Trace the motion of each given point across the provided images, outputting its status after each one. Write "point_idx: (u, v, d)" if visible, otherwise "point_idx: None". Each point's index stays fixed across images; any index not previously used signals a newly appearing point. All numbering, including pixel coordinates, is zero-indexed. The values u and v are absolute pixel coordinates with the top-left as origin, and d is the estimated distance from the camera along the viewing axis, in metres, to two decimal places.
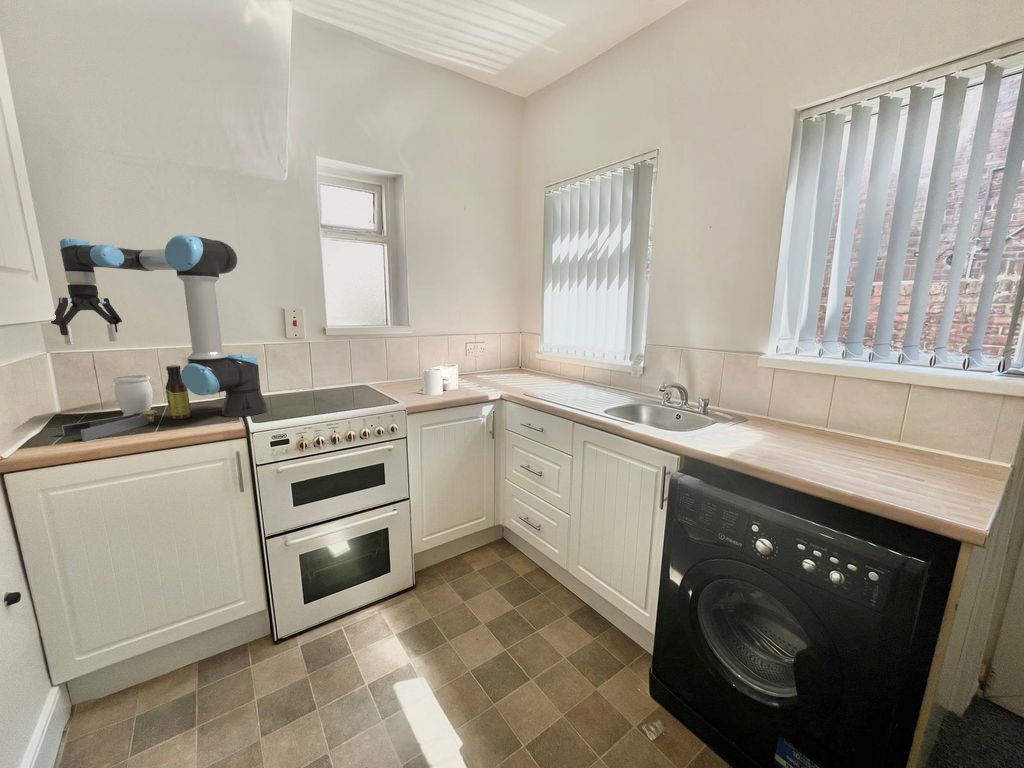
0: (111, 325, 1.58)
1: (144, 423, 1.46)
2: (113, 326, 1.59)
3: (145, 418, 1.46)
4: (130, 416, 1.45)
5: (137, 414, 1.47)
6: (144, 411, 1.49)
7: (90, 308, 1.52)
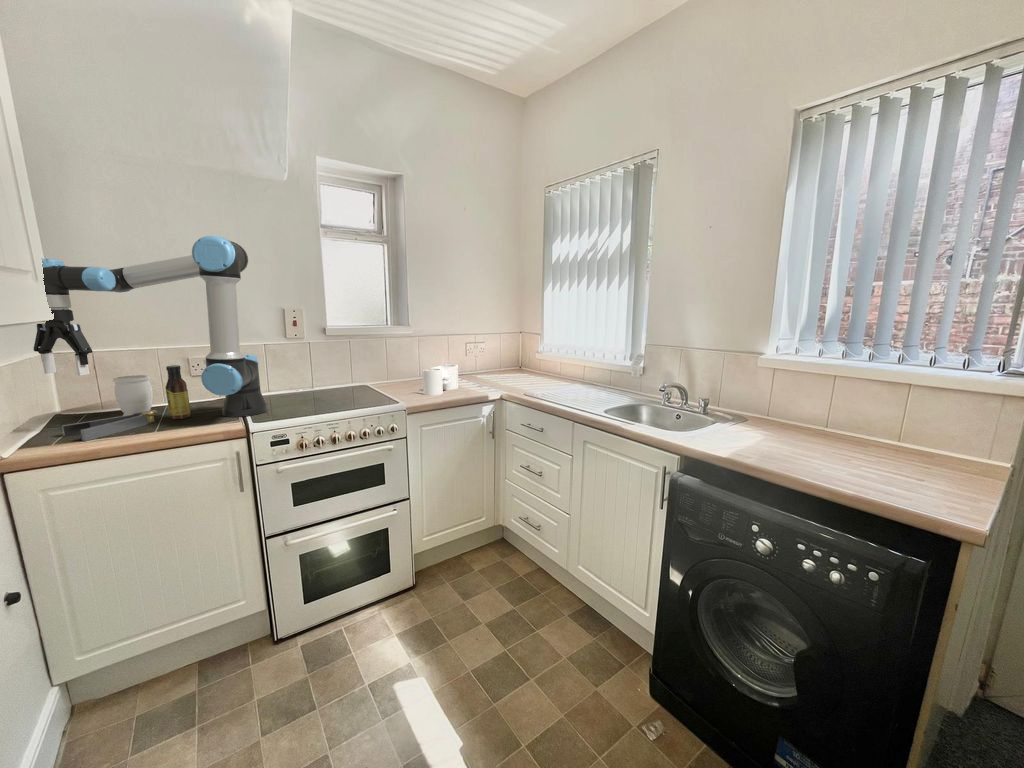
0: None
1: (144, 423, 1.46)
2: (75, 357, 1.33)
3: (145, 418, 1.46)
4: (130, 416, 1.45)
5: (137, 414, 1.47)
6: (144, 411, 1.49)
7: (57, 336, 1.33)
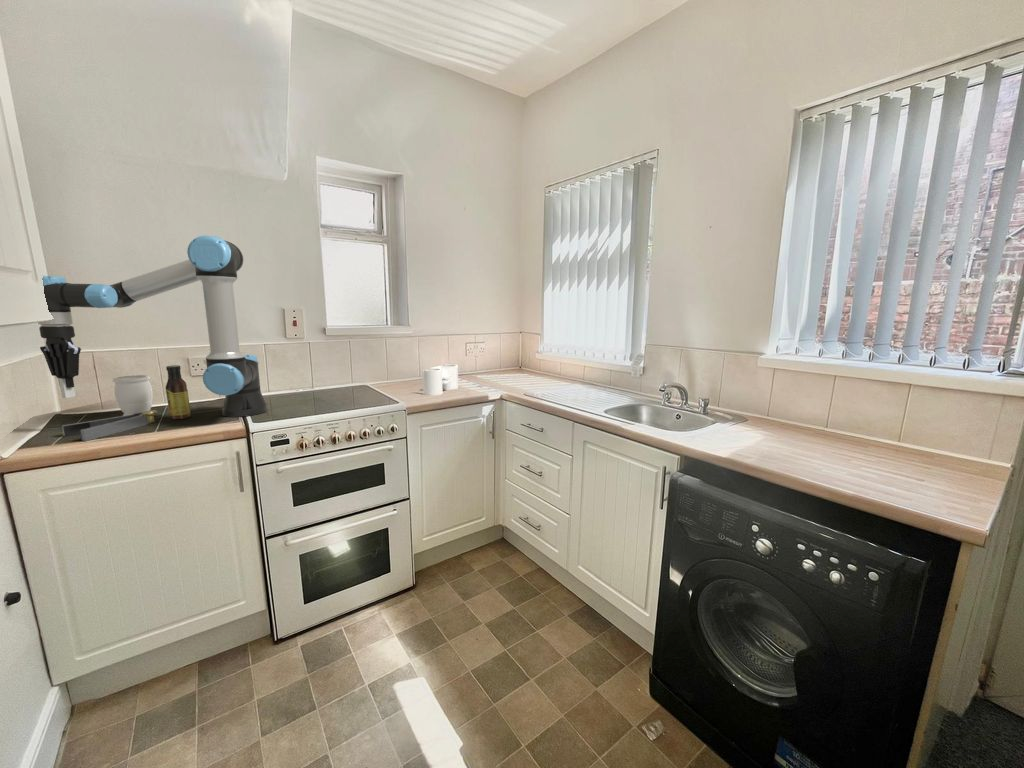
0: None
1: (144, 423, 1.46)
2: (61, 380, 1.35)
3: (145, 418, 1.46)
4: (130, 416, 1.45)
5: (137, 414, 1.47)
6: (144, 411, 1.49)
7: None
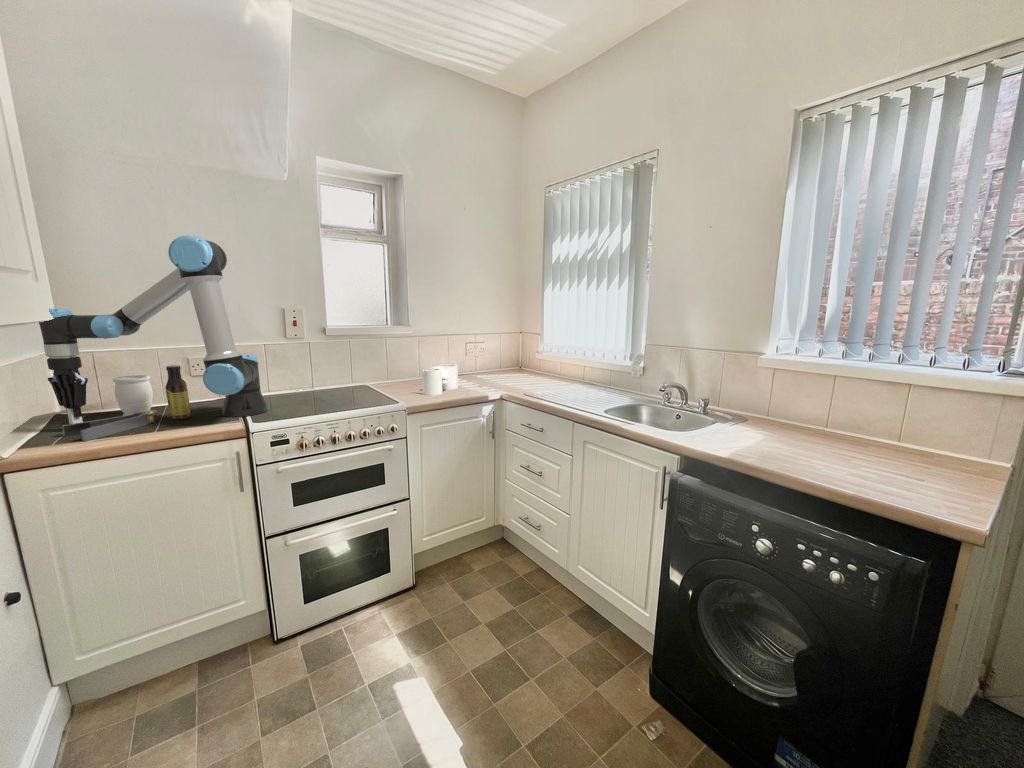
0: None
1: (144, 423, 1.46)
2: (69, 411, 1.36)
3: (145, 418, 1.46)
4: (130, 416, 1.45)
5: (137, 414, 1.47)
6: (144, 411, 1.49)
7: None
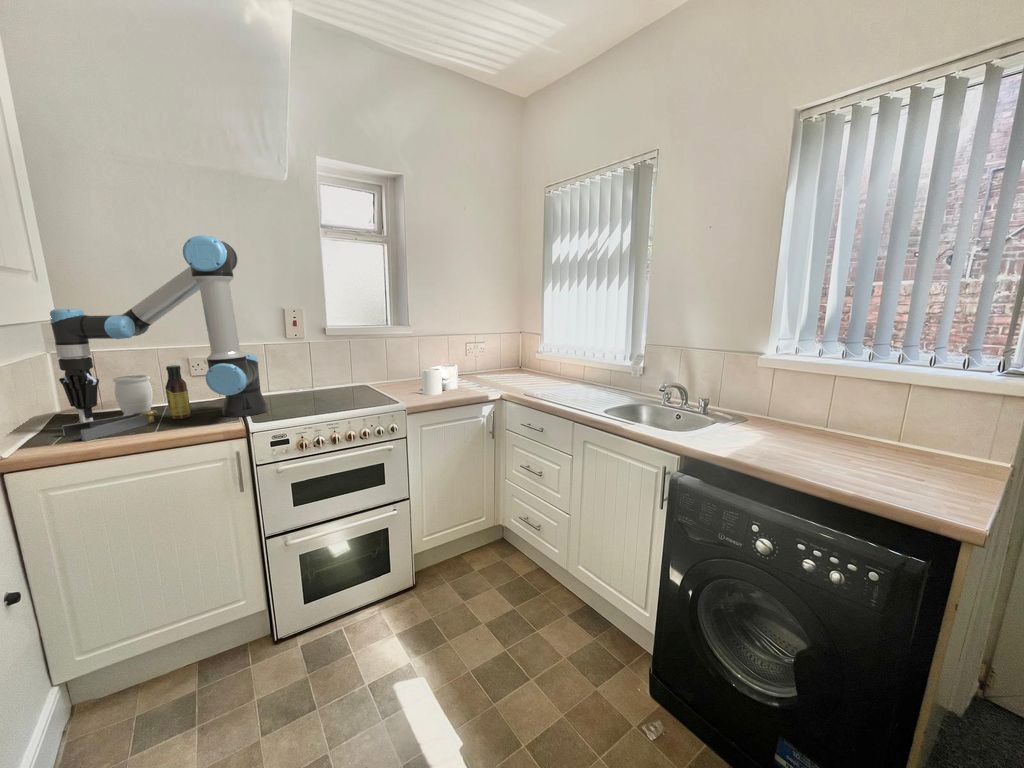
0: None
1: (144, 423, 1.46)
2: (80, 411, 1.36)
3: (145, 418, 1.46)
4: (130, 416, 1.45)
5: (137, 414, 1.47)
6: (144, 411, 1.49)
7: None
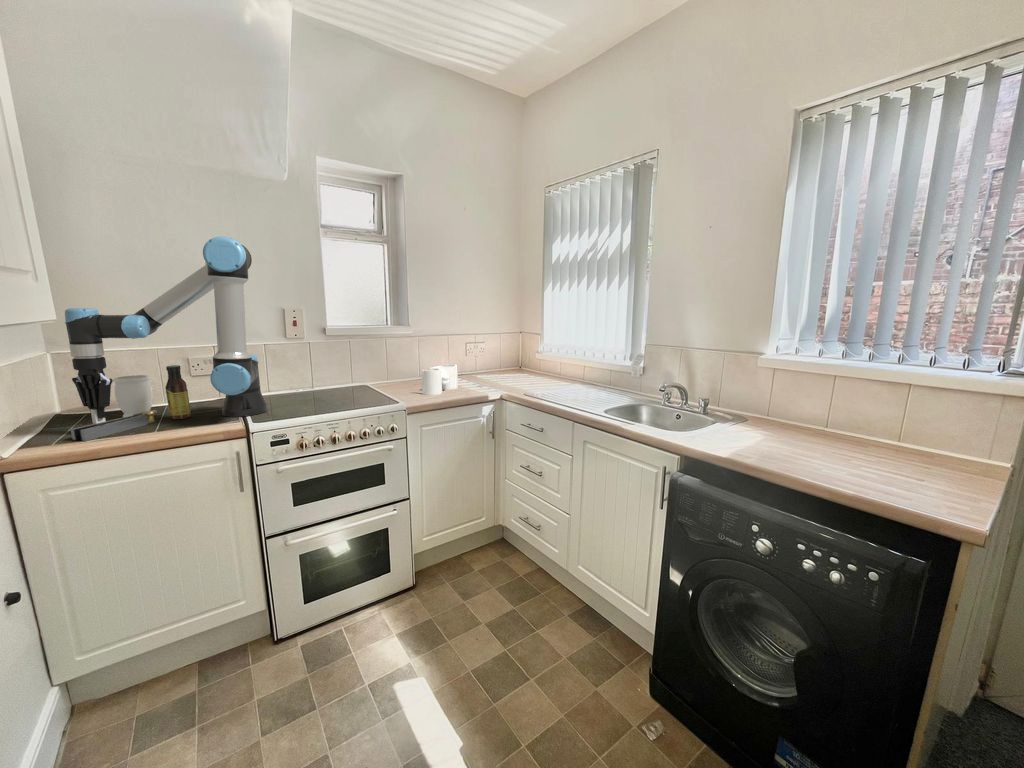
0: None
1: (144, 423, 1.46)
2: (93, 411, 1.35)
3: (145, 418, 1.46)
4: None
5: (138, 415, 1.46)
6: None
7: None
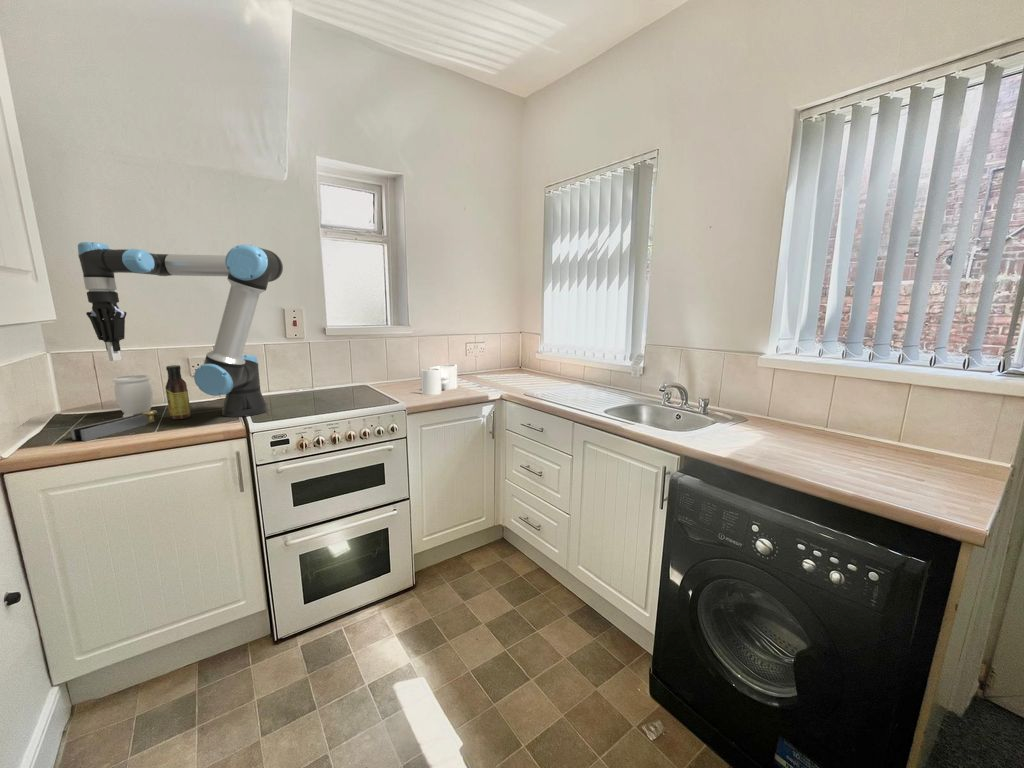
0: None
1: (144, 423, 1.46)
2: (109, 344, 1.41)
3: (145, 418, 1.46)
4: None
5: (138, 415, 1.46)
6: None
7: None
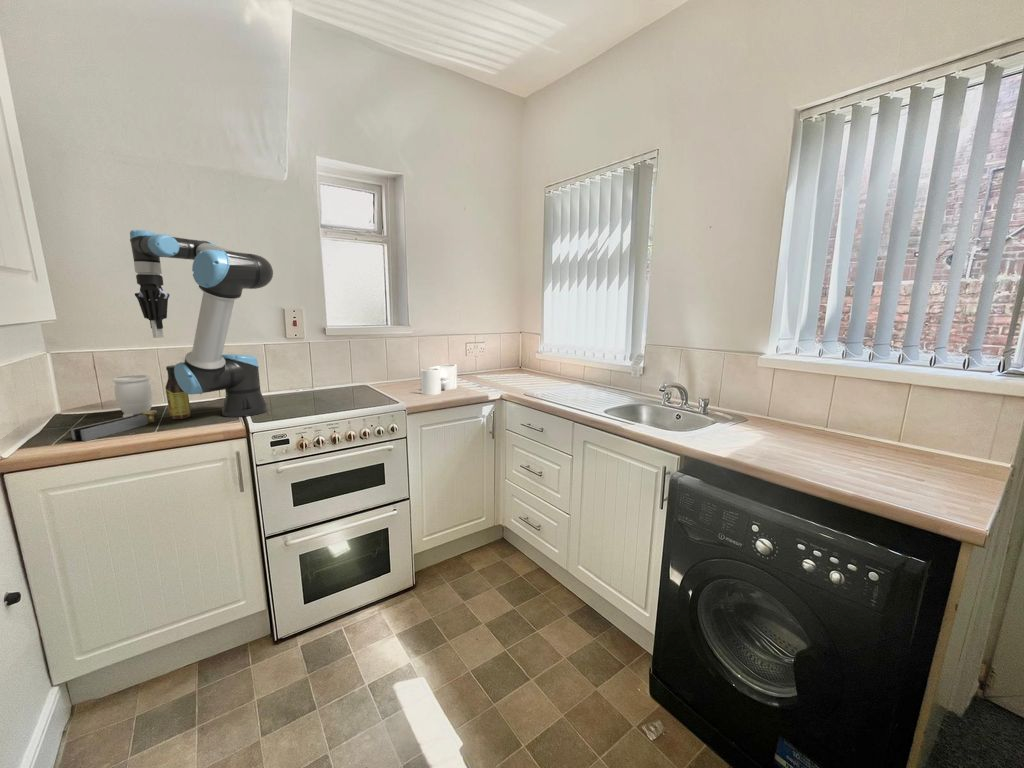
0: None
1: (144, 423, 1.46)
2: (153, 322, 1.56)
3: (145, 418, 1.46)
4: None
5: (138, 415, 1.46)
6: None
7: None
